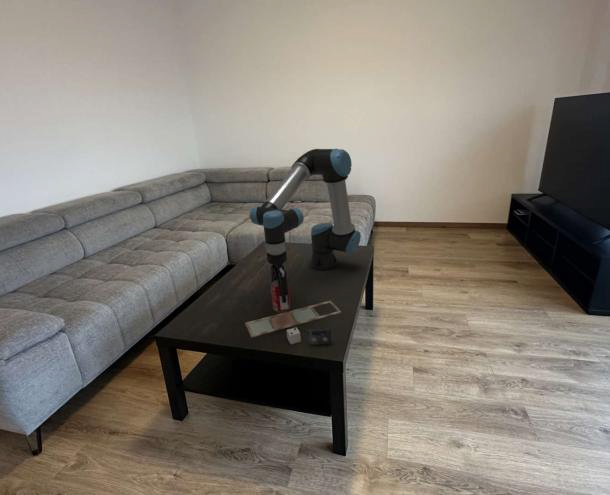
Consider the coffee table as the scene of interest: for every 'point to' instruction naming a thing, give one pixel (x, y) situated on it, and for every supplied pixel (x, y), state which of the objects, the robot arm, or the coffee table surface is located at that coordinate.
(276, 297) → the soda can
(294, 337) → the die
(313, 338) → the mini dv tape
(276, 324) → the frame
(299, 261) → the coffee table surface
